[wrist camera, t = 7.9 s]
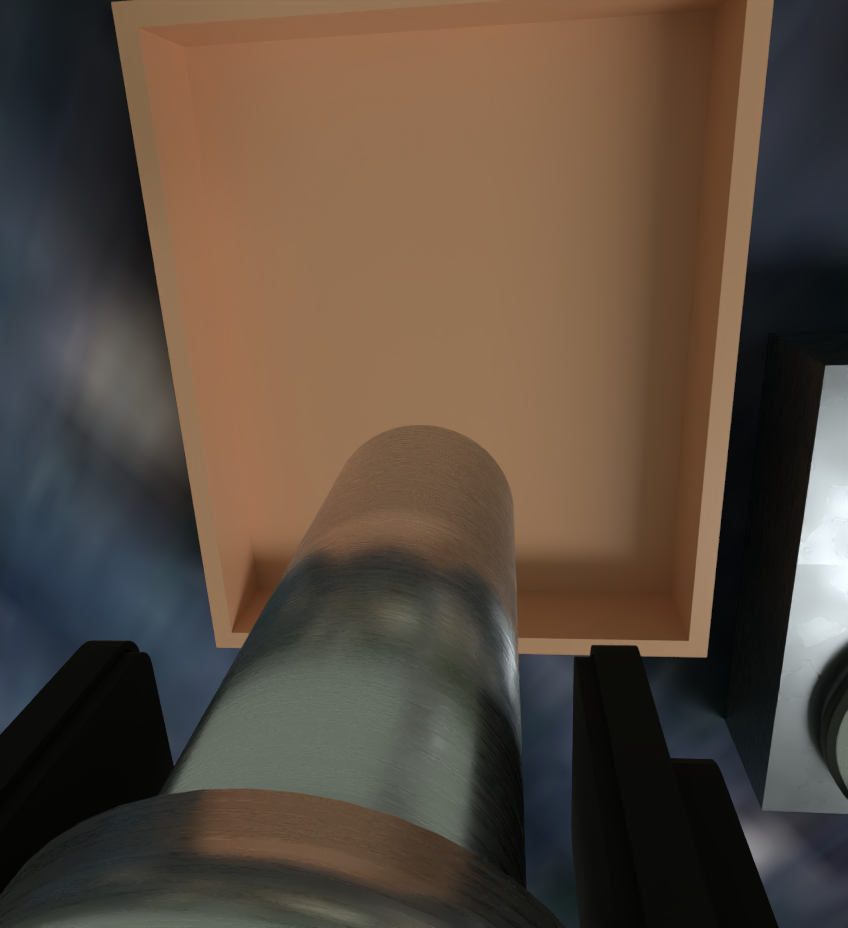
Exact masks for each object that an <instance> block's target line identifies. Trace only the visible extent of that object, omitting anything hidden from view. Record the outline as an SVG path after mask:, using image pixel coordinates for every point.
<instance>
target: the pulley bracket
mask: <svg viewBox="0 0 848 928" xmlns="http://www.w3.org/2000/svg"><path fill="white" fill-rule="evenodd" d="M725 722H726V724H727V727H728V729H729V732H730V734H731V736H732V739H733V741H734V744H735V746H736V749H737V751H738V754H739V756H740V758H741V761H742V763H743V766H744V768H745V771H746V773H747V775H748V778H749V780H750V783H751V785H752V788H753V790H754V792H755V795H756V797H757V800H758V802H759V805H760V807H761V810H767V811H791V812H815V813H839V814H848V332H808V333H769V339H768V348H767V357H766V365H765V374H764V383H763V391H762V400H761V409H760V417H759V426H758V435H757V443H756V452H755V461H754V470H753V478H752V487H751V496H750V504H749V513H748V522H747V530H746V539H745V548H744V556H743V565H742V574H741V582H740V591H739V600H738V608H737V617H736V626H735V634H734V643H733V652H732V661H731V669H730V678H729V687H728V695H727V704H726V713H725Z"/></svg>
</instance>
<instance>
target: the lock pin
mask: <svg viewBox="0 0 848 928" xmlns="http://www.w3.org/2000/svg"><path fill="white" fill-rule="evenodd" d="M0 928H565V927H564V926H563V925H562V923H561V922H560V921H559V920H558V919H557V918H556V917H555V915H554V914H553V913H552V912H551V911H550V910H549V909H548V908H547V907H546V906H544V905H543V904H542V903H541V902H540V901H539V900H538V899H536V898H535V897H534V896H533V895H532V894H531V893H530V892H528V891H527V890H526V863H525V833H524V802H523V772H522V741H521V711H520V680H519V650H518V619H517V589H516V559H515V528H514V506H513V497H512V493H511V489H510V486H509V484H508V481H507V478H506V476H505V475H504V473H503V471H502V469H501V468H500V466H499V465H498V464H497V462H496V461H495V460H494V458H493V457H492V456H491V455H490V454H489V453H488V452H487V451H486V450H485V449H484V448H482V447H481V446H480V445H479V444H477V443H476V442H474V441H473V440H471V439H469V438H468V437H466V436H464V435H462V434H460V433H457V432H455V431H452V430H449V429H446V428H442V427H436V426H431V425H410V426H403V427H398V428H394V429H391V430H388V431H385V432H382V433H380V434H379V435H377V436H375V437H373V438H371V439H370V440H368V441H367V442H365V443H364V444H363V445H361V446H360V447H359V448H358V449H357V450H356V451H355V452H354V453H353V454H352V456H351V457H350V458H349V459H348V461H347V462H346V464H345V465H344V467H343V469H342V470H341V472H340V474H339V476H338V478H337V479H336V481H335V483H334V485H333V486H332V488H331V490H330V492H329V493H328V495H327V497H326V499H325V501H324V502H323V504H322V506H321V508H320V509H319V511H318V513H317V515H316V516H315V518H314V520H313V522H312V524H311V525H310V527H309V529H308V531H307V532H306V534H305V536H304V538H303V540H302V541H301V543H300V545H299V547H298V548H297V550H296V552H295V554H294V555H293V557H292V559H291V561H290V563H289V564H288V566H287V568H286V570H285V571H284V573H283V575H282V577H281V578H280V580H279V582H278V584H277V586H276V587H275V589H274V591H273V593H272V594H271V596H270V598H269V600H268V602H267V603H266V605H265V607H264V609H263V610H262V612H261V614H260V616H259V617H258V619H257V621H256V623H255V625H254V626H253V628H252V630H251V632H250V633H249V635H248V637H247V639H246V640H245V642H244V644H243V646H242V648H241V649H240V651H239V653H238V655H237V656H236V658H235V660H234V662H233V664H232V665H231V667H230V669H229V671H228V672H227V674H226V676H225V678H224V679H223V681H222V683H221V685H220V687H219V688H218V690H217V692H216V694H215V695H214V697H213V699H212V701H211V702H210V704H209V706H208V708H207V710H206V711H205V713H204V715H203V717H202V718H201V720H200V722H199V724H198V726H197V727H196V729H195V731H194V733H193V734H192V736H191V738H190V740H189V741H188V743H187V745H186V747H185V749H184V750H183V752H182V754H181V756H180V757H179V759H178V761H177V763H176V764H175V766H174V768H173V770H172V772H171V773H170V775H169V777H168V779H167V780H166V782H165V784H164V786H163V788H162V789H161V791H160V793H159V795H158V796H155V797H151V798H147V799H144V800H140V801H136V802H132V803H128V804H124V805H121V806H118V807H115V808H113V809H110V810H108V811H106V812H103V813H101V814H98V815H96V816H93V817H91V818H89V819H86V820H84V821H82V822H80V823H79V824H77V825H75V826H74V827H72V828H70V829H69V830H67V831H65V832H64V833H62V834H60V835H59V836H57V837H55V838H54V839H52V840H51V841H50V842H49V843H47V844H46V845H45V846H44V847H43V848H42V849H40V850H39V851H38V852H37V853H36V854H35V855H33V856H32V857H31V858H30V859H29V860H28V861H27V862H26V863H25V864H24V865H23V867H22V868H21V869H20V870H19V872H18V873H17V874H16V875H15V877H14V878H13V879H12V880H11V881H10V883H9V884H8V885H7V887H6V888H5V889H4V891H3V892H2V894H1V895H0Z"/></svg>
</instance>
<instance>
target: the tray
mask: <svg viewBox="0 0 848 928" xmlns="http://www.w3.org/2000/svg"><path fill="white" fill-rule="evenodd" d="M773 2H774V0H131V1H118V2H111V5H112V11H113V17H114V23H115V29H116V35H117V41H118V47H119V54H120V60H121V66H122V72H123V78H124V84H125V90H126V96H127V102H128V108H129V115H130V121H131V127H132V133H133V139H134V145H135V151H136V157H137V163H138V170H139V176H140V182H141V188H142V194H143V200H144V206H145V212H146V218H147V225H148V231H149V237H150V243H151V249H152V255H153V261H154V267H155V273H156V279H157V286H158V292H159V298H160V304H161V310H162V316H163V322H164V328H165V334H166V341H167V347H168V353H169V359H170V365H171V371H172V377H173V383H174V389H175V395H176V402H177V408H178V414H179V420H180V426H181V432H182V438H183V444H184V450H185V457H186V463H187V469H188V475H189V481H190V487H191V493H192V499H193V505H194V511H195V518H196V524H197V530H198V536H199V542H200V548H201V554H202V560H203V566H204V573H205V579H206V585H207V591H208V597H209V603H210V609H211V615H212V621H213V627H214V634H215V640H216V646H217V648H242V646H243V644H244V642H245V640H246V639H247V637H248V635H249V633H250V632H251V630H252V628H253V626H254V625H255V623H256V621H257V619H258V617H259V616H260V614H261V612H262V610H263V609H264V607H265V605H266V603H267V602H268V600H269V598H270V596H271V594H272V593H273V591H274V589H275V587H276V586H277V584H278V582H279V580H280V578H281V577H282V575H283V573H284V571H285V570H286V568H287V566H288V564H289V563H290V561H291V559H292V557H293V555H294V554H295V552H296V550H297V548H298V547H299V545H300V543H301V541H302V540H303V538H304V536H305V534H306V532H307V531H308V529H309V527H310V525H311V524H312V522H313V520H314V518H315V516H316V515H317V513H318V511H319V509H320V508H321V506H322V504H323V502H324V501H325V499H326V497H327V495H328V493H329V492H330V490H331V488H332V486H333V485H334V483H335V481H336V479H337V478H338V476H339V474H340V472H341V470H342V469H343V467H344V465H345V464H346V462H347V461H348V459H349V458H350V457H351V456H352V454H353V453H354V452H355V451H356V450H357V449H358V448H359V447H360V446H361V445H363V444H364V443H365V442H367V441H368V440H370V439H371V438H373V437H375V436H377V435H379V434H380V433H382V432H385V431H388V430H391V429H394V428H398V427H403V426H410V425H431V426H436V427H442V428H446V429H449V430H452V431H455V432H457V433H460V434H462V435H464V436H466V437H468V438H469V439H471V440H473V441H474V442H476V443H477V444H479V445H480V446H481V447H482V448H484V449H485V450H486V451H487V452H488V453H489V454H490V455H491V456H492V457H493V458H494V460H495V461H496V462H497V464H498V465H499V466H500V468H501V469H502V471H503V473H504V475H505V476H506V478H507V481H508V484H509V486H510V489H511V493H512V497H513V506H514V528H515V559H516V589H517V619H518V650H519V654H560V655H590V650H591V646H592V645H636V646H637V647H638V649H639V652H640V655H641V656H658V657H707V652H708V642H709V632H710V622H711V612H712V603H713V593H714V583H715V573H716V563H717V553H718V544H719V534H720V524H721V514H722V504H723V494H724V485H725V475H726V465H727V455H728V445H729V435H730V425H731V416H732V406H733V396H734V386H735V376H736V366H737V357H738V347H739V337H740V327H741V317H742V307H743V298H744V288H745V278H746V268H747V258H748V248H749V239H750V229H751V219H752V209H753V199H754V189H755V180H756V170H757V160H758V150H759V140H760V130H761V121H762V111H763V101H764V91H765V81H766V71H767V61H768V52H769V42H770V32H771V22H772V12H773Z"/></svg>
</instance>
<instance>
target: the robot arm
mask: <svg viewBox="0 0 848 928" xmlns="http://www.w3.org/2000/svg"><path fill="white" fill-rule="evenodd" d="M173 768H174V765H173V761H172V756H171V751H170V747H169V742H168V737H167V732H166V728H165V723H164V718H163V714H162V709H161V704H160V700H159V695H158V690H157V686H156V681H155V676H154V671H153V667H152V662H151V659H150V657H149V655H148V654H147V653H145V652H139V649H138V647H137V645H136V644H135V643H134V642H131V641H88V642H86V643H84V644H83V645H82V646H81V647H80V648H79V649H78V650H77V651H76V652H75V653H74V655H73V656H72V657H71V658H70V659H69V660H68V661H67V662H66V663H65V664H64V665H63V667H62V668H61V669H60V670H59V671H58V672H57V673H56V674H55V675H54V676H53V678H52V679H51V680H50V681H49V682H48V683H47V684H46V685H45V686H44V687H43V689H42V690H41V691H40V692H39V693H38V694H37V695H36V696H35V697H34V698H33V699H32V701H31V702H30V703H29V704H28V705H27V706H26V707H25V708H24V709H23V710H22V712H21V713H20V714H19V715H18V716H17V717H16V718H15V719H14V720H13V721H12V723H11V724H10V725H9V726H8V727H7V728H6V729H5V730H4V731H3V732H2V733H1V735H0V895H1V894H2V892H3V891H4V889H5V888H6V887H7V885H8V884H9V883H10V881H11V880H12V879H13V878H14V877H15V875H16V874H17V873H18V872H19V870H20V869H21V868H22V867H23V865H24V864H25V863H26V862H27V861H28V860H29V859H30V858H31V857H32V856H33V855H35V854H36V853H37V852H38V851H39V850H40V849H42V848H43V847H44V846H45V845H46V844H47V843H49V842H50V841H51V840H52V839H54V838H55V837H57V836H59V835H60V834H62V833H64V832H65V831H67V830H69V829H70V828H72V827H74V826H75V825H77V824H79V823H80V822H82V821H84V820H86V819H89V818H91V817H93V816H96V815H98V814H101V813H103V812H106V811H108V810H110V809H113V808H115V807H118V806H121V805H124V804H128V803H132V802H136V801H140V800H144V799H147V798H151V797H155V796H158V795H159V793H160V791H161V789H162V788H163V786H164V784H165V782H166V780H167V779H168V777H169V775H170V773H171V772H172V770H173ZM571 830H572V851H573V861H574V871H575V881H576V891H577V900H578V910H579V920H580V928H779V927H778V925H777V922H776V919H775V917H774V914H773V911H772V908H771V906H770V903H769V900H768V898H767V895H766V892H765V889H764V887H763V884H762V881H761V879H760V876H759V873H758V870H757V868H756V865H755V862H754V860H753V857H752V854H751V851H750V849H749V846H748V843H747V841H746V838H745V835H744V832H743V830H742V827H741V824H740V822H739V819H738V816H737V814H736V811H735V808H734V805H733V803H732V800H731V797H730V795H729V792H728V789H727V786H726V784H725V781H724V778H723V776H722V773H721V771H720V769H719V767H718V765H717V763H716V762H715V761H714V760H713V759H682V758H670V755H669V752H668V748H667V745H666V741H665V738H664V735H663V731H662V728H661V724H660V721H659V717H658V714H657V710H656V707H655V703H654V700H653V696H652V693H651V690H650V686H649V683H648V679H647V676H646V672H645V669H644V665H643V662H642V658H641V655H640V652H639V649H638V647H637V646H636V645H592V646H591V650H590V657H575V658H574V685H573V750H572V815H571Z"/></svg>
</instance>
